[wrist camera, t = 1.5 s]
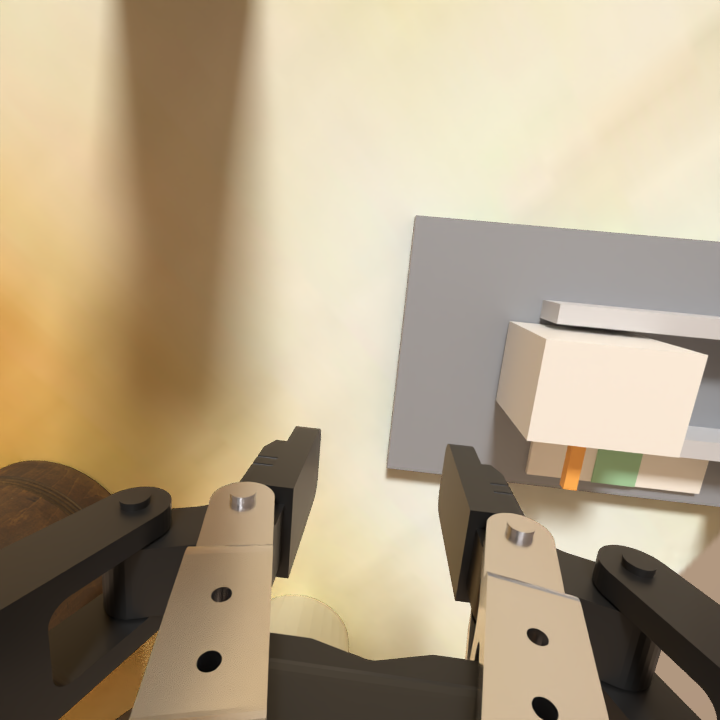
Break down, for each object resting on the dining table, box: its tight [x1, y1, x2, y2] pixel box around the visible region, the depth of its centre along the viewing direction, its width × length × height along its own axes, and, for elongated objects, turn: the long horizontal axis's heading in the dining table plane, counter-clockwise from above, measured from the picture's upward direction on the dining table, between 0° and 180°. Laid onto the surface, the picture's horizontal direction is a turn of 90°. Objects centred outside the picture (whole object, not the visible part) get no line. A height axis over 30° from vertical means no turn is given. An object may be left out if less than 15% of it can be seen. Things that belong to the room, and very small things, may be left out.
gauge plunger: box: [496, 321, 708, 491], centre depth 26 cm, size 8×9×7 cm
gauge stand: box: [387, 215, 720, 507], centre depth 26 cm, size 30×18×10 cm, turn 85°
